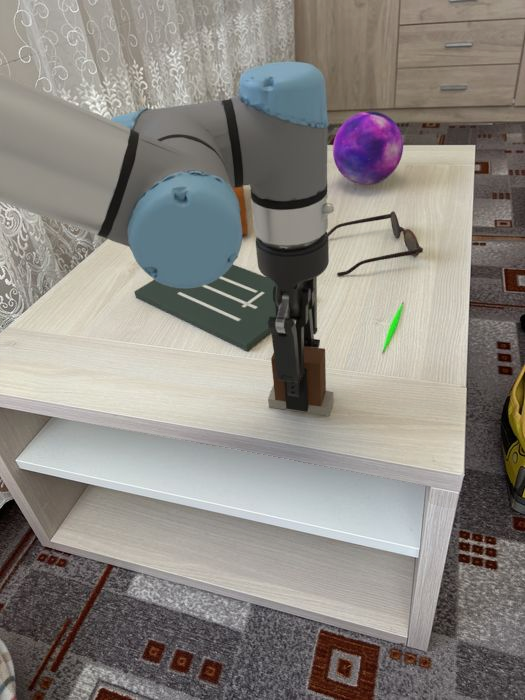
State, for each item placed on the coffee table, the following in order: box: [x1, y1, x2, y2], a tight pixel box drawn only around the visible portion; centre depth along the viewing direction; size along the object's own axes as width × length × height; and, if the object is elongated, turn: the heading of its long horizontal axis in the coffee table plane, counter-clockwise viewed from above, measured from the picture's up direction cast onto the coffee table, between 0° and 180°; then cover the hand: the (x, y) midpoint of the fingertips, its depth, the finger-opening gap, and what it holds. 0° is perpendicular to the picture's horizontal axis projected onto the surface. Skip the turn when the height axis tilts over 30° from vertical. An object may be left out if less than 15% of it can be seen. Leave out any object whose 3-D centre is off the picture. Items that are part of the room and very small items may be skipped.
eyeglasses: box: [327, 211, 424, 277], centre depth 99 cm, size 15×15×5 cm
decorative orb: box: [332, 110, 404, 186], centre depth 120 cm, size 15×15×15 cm
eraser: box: [267, 346, 335, 417], centre depth 69 cm, size 8×3×8 cm, turn 73°
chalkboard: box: [133, 264, 276, 352], centre depth 92 cm, size 26×16×1 cm, turn 50°
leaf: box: [381, 302, 404, 355], centre depth 82 cm, size 1×14×1 cm, turn 156°
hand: (300, 397), depth 71 cm, fingers closed on eraser, 3 cm apart
